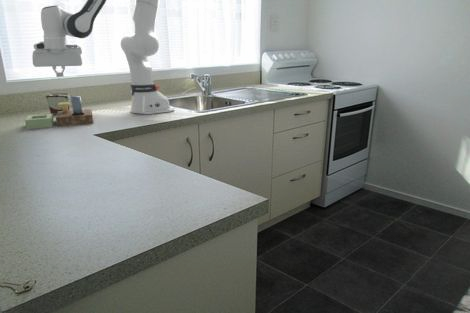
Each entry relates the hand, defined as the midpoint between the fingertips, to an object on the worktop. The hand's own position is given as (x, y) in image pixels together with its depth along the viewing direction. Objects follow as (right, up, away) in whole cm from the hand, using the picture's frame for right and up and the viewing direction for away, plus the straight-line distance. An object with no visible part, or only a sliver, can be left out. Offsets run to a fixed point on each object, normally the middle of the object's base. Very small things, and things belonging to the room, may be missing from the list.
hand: (60, 76), depth 170 cm
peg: (+8, -21, +2) cm, 22 cm away
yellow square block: (0, -16, +5) cm, 17 cm away
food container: (-10, -14, +24) cm, 29 cm away
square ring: (-7, -23, -4) cm, 24 cm away
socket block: (+5, -20, +4) cm, 21 cm away
